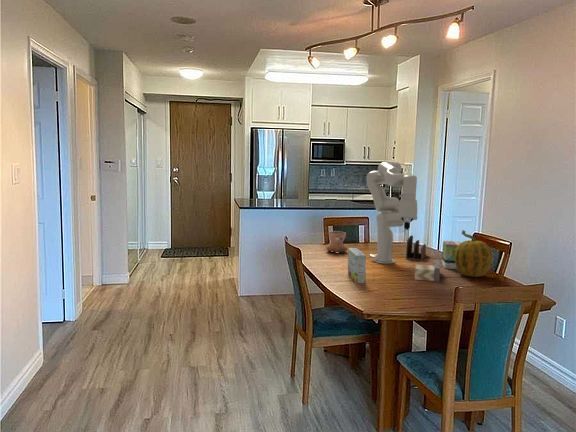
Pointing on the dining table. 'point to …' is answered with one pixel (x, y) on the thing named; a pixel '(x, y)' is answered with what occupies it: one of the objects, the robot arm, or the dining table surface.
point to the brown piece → (337, 241)
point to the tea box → (449, 254)
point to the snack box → (357, 265)
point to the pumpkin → (473, 257)
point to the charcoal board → (437, 271)
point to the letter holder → (415, 250)
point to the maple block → (424, 272)
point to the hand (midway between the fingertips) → (406, 229)
